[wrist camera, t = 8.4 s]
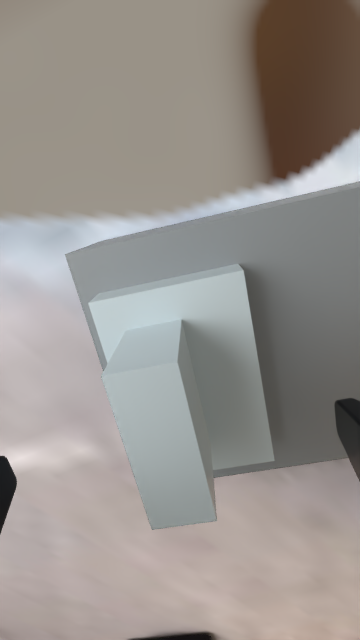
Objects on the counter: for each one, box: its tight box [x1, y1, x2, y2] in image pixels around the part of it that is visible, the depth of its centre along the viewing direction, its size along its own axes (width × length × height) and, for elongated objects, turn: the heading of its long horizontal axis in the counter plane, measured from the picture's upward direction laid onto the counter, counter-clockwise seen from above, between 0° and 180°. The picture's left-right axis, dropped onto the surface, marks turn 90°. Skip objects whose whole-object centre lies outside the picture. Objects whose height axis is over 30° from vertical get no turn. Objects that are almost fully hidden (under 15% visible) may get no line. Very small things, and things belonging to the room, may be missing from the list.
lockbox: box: [65, 182, 360, 478], centre depth 14 cm, size 10×15×5 cm, turn 103°
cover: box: [88, 264, 275, 530], centre depth 10 cm, size 7×5×4 cm
